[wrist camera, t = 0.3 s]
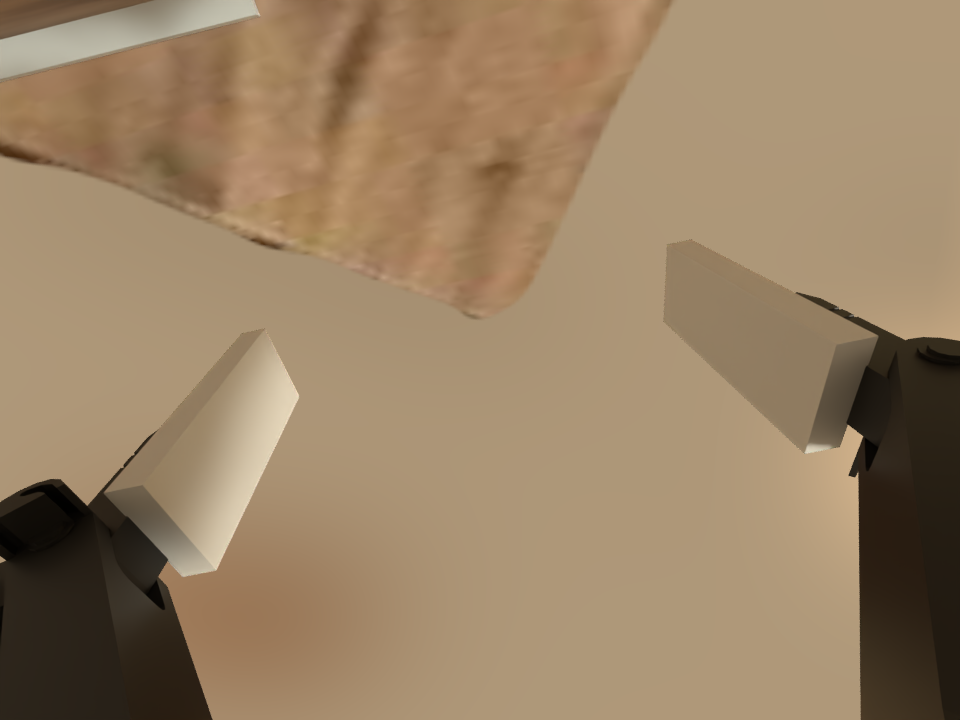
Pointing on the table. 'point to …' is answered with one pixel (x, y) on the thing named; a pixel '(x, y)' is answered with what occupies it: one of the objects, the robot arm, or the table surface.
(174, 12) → the plinth
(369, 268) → the table surface
